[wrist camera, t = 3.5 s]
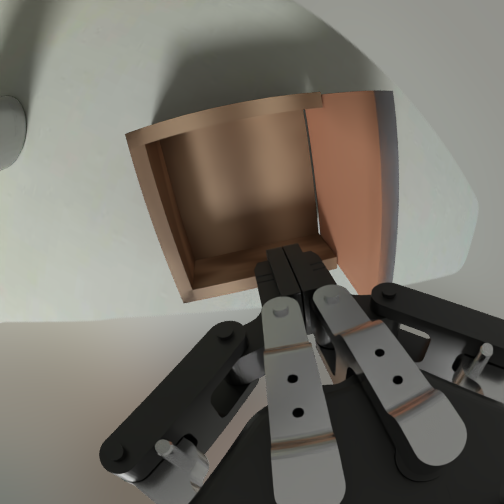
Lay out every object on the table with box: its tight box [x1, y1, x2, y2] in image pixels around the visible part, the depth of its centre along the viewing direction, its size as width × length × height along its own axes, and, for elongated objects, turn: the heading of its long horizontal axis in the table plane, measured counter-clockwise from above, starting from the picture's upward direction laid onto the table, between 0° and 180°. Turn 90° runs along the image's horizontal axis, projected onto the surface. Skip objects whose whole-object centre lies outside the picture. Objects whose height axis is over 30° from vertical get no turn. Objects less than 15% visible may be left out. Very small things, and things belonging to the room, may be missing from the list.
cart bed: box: [125, 92, 337, 303], centre depth 24 cm, size 14×15×8 cm
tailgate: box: [305, 91, 399, 295], centre depth 20 cm, size 1×15×12 cm, turn 10°
